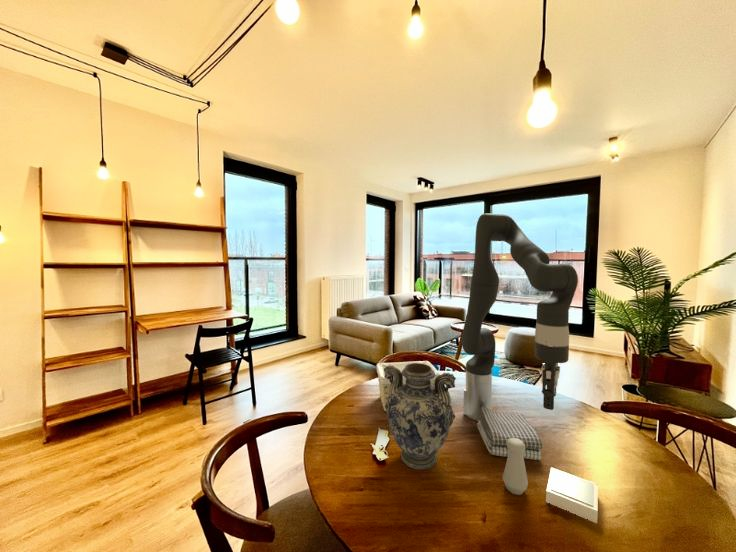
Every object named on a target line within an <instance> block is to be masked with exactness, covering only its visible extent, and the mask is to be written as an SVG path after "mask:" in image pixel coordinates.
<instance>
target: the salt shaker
mask: <svg viewBox="0 0 736 552" xmlns="http://www.w3.org/2000/svg"><path fill="white" fill-rule="evenodd" d="M507 448H508V450H509V453H508V457H506V458H507V459H506V463H505V468H504V471H503V474H502V481H503V482H504V485H505V488H506V490H508V492H510V493H511V494H513V495H517V496H521V495H523V493H524V492H525V491H526V490H527V489H528V485H529V481H528V475H527V471H526V465H525V464H526V463H525V458H524V457H523V453H524V452H525V444H524V443H523V442H522V441H521V440H520V439H517V438H510V439H508V440H507Z"/></svg>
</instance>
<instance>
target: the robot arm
mask: <svg viewBox="0 0 736 552" xmlns="http://www.w3.org/2000/svg"><path fill="white" fill-rule="evenodd" d="M474 238H475V240H474V243H475V245H474V258H473V259H474V260H473V268H472V275H471V281H470V289H469V290H470V291H469V299H468V305H467V311H466V316H465V320H464V325H463V330H462V334H461V346H462V350H463V352H464V353H466V354H467V355H470V356H472V357H471V358H469V360H467V361H466V363H465V388H464V390H463V415H464V416H466V417H468V418H469V419H471V420H474V421H477V422H478V421H479V420H480V415H479V414H481V410H480V408H482V407H484V408H487V409H490V410H491V411H492V393H493V392H492V391H493V389H492V386H493V385H492V381H493V379H492V378H493V377H492V376H493V368H494V366H495V359H496V357H495V356H496V338H495V334H494V333H493V332H492V330H491V329H489V328H487V327H482V325H483V322H484V320H485V318H486V316H487V315H488V314H489V313H488V312H490V310H491V308H492V307H493V306H494V303H496V299H497V297H498V291H499V284H500V278H499V277H500V276H499V274H498V271H497V269H496V268H495V265H494V264H493V261H492V258H491V254H490V247H491V246H490V244H491V242H505V243H507V244H508V245H509V246H510V249H509V251H510V256H511V258H512V259H513V260H514V262H515V263H517V265H518V266H519V267H521V269H522V270H524V273H525V275H526V277H527V279H528V281H529V284H530V286H531V287H532V288H533V289H535V290H537V291H539V292H544V293H545V292H551V295H550V297H548V298H547V299H544V300H541V301H538V303H537V305H536V325H535V330H534V357H535V358H536V359H538V360H539V361H543V362H544V363H543V362H542V365H541V370H540V371H541V384H542V386H541V393H542V395H543V406H542V407H543V408H544V409H545V410H551V411H553V410H554V409H555V407H554V406H555V398H556V395H557V387H558V384H559V382H558V381H559V378H560V372H561V366H560V365H559V364H565V363H568V362H569V359H570V358H569V357H570V355H569V354H570V352H569V351H570V330H569V321H570V319H569V317H570V316H569V315H570V312H569V311H570V307H571V304H572V302H573V299H574V296H575V293H576V291H577V287H578V283H579V277H578V276H579V275H578V273H577V270H576V269H575V267H573V266H572V265H570V264H567V263H550V262H551V260H550V257H549V255H548V254H547V253H546V252H545V251H544V250H543V249H541V247H539V246H538V245H536V244H535V243H534V242H532V240H531V239H530V238H529V237H528V236H527V235H526V234H525V233H524V231H523V230H522V229H521V228H520V226H518V224H517V222H516V221H515V220H514V218H512V217H511V216H509V215H508V214H503V213H502V214H501V213H482V214H481V215H480V216H479V217H478V219H477V222H476V226H475V237H474Z"/></svg>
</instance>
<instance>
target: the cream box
mask: <svg viewBox="0 0 736 552" xmlns="http://www.w3.org/2000/svg"><path fill="white" fill-rule="evenodd" d="M413 363H420V364H425V365H428V366H430V367H431V369H432V370H433V371H434V372H435V377H434V378H433V379H431V380H430V381H431V385H434V386H435V379H436V378H437V377H438V376H439V375H441V374H440V373H439V371H438V370H437V369H436V368H435V366H434V364H432V363H431V362H430V361H428V360H423V361H421V360H418V361H417V360H416V361H414V360H413V361H402V362H401V361H399V362H379V363H376V373H377V376H378V379H377V380H378V383H379V384H378V387H379V397H380V396H381V398H380V401H381V404H382V403H383V404H382V407H383V410H384V412H385V411H386V409H385V404H386V402H387V398H388V396H389V387H390V384H391V383H390V380H389V379H386V378H384V376H385V372H384V368H385V366H389V365H391V366H394V367H395V368H397V369H399V370H400V371H401V373H402V370H403V369H404V368H405V367H406V365H408V364H413ZM393 377H394V376H393ZM393 380H394V379H393ZM405 383H406V378H405V377H404V376H403V384H405ZM385 413H387V411H386V412H385Z"/></svg>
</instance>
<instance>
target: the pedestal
mask: <svg viewBox="0 0 736 552" xmlns="http://www.w3.org/2000/svg"><path fill="white" fill-rule="evenodd" d="M598 487H599V486H598V483H596V482H594V481H590V480H588V479H585V478H581V477H579V476H576V475H574V474H570V473H568V472H565V471H562V470H560V469H558V468H554V467H550V472H549V477H548V482H547V486H546V490H545V492H546V493H545V494H546V495H545V502H546V503H547V504H549V503H550V505H552V506H554V507H556V506H557V507H556V508H560V509H562V510H564V511H566V510H567V512H568V511H569V512H568V513H571V514H573V515H575V514H576V516H578V517H580V518H582V519H585V520H587V519H588V520H587V521H590V522H592V523H594V524H598V515H599V514H598V511H599V510H598V509H599V504H598V501H599V500H598V499H599V497H598V495H599V494H598V492H599V489H598Z"/></svg>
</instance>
